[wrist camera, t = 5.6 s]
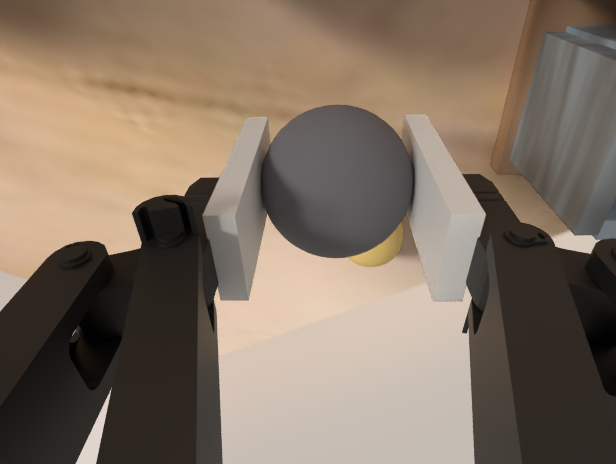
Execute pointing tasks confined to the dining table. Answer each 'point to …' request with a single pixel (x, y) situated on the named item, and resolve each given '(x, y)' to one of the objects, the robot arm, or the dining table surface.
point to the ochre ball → (381, 250)
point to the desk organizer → (565, 112)
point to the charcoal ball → (336, 181)
